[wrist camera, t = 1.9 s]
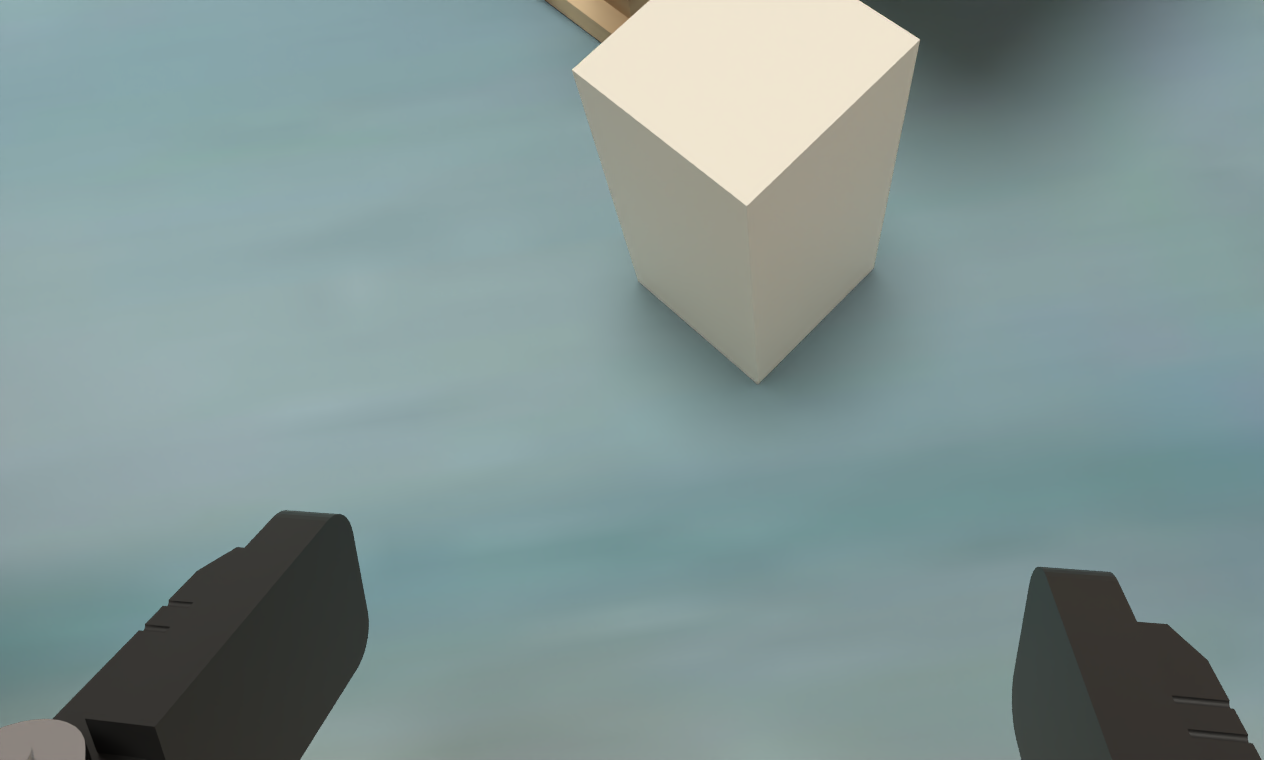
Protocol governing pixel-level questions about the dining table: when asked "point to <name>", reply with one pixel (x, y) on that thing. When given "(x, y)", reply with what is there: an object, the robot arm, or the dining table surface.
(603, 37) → the frame
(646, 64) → the white square pillar
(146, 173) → the dining table surface
